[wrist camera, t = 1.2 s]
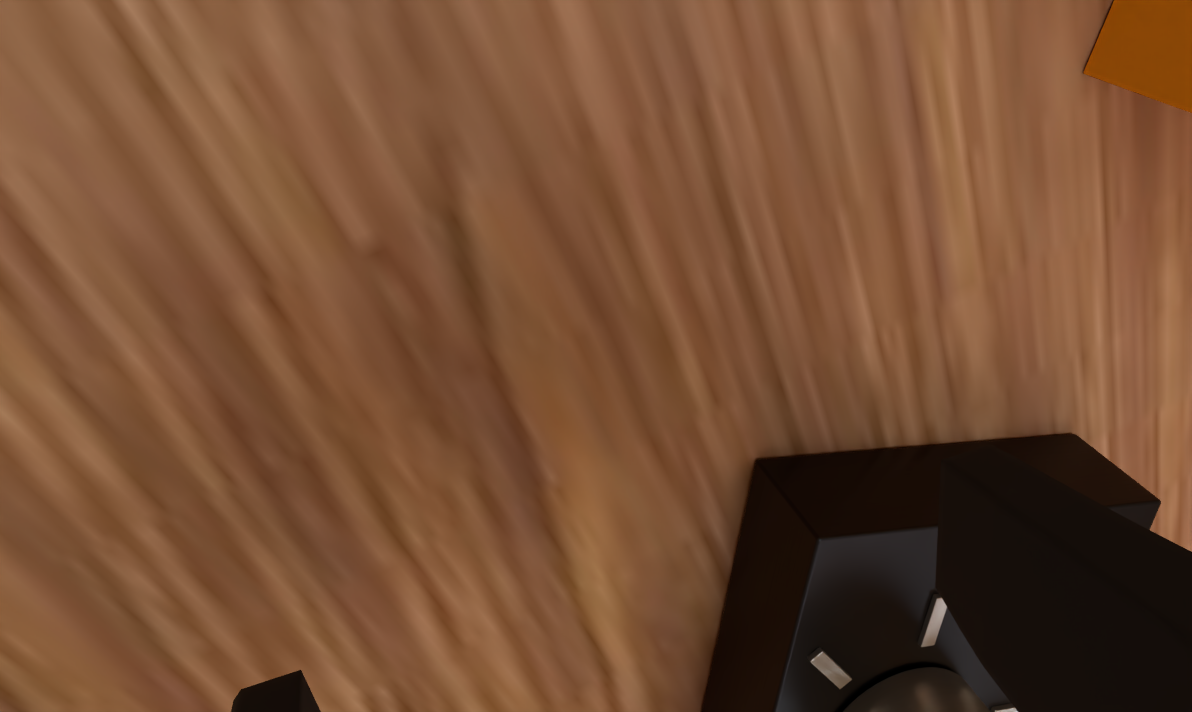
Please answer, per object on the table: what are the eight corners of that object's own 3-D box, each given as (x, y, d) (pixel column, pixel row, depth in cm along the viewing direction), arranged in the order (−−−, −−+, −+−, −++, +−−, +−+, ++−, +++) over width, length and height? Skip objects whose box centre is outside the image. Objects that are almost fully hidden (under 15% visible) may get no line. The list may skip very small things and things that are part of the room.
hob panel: (942, 794, 33) (1006, 884, 31) (651, 854, 30) (694, 959, 28) (1075, 432, 27) (1168, 505, 25) (730, 460, 24) (795, 546, 22)
